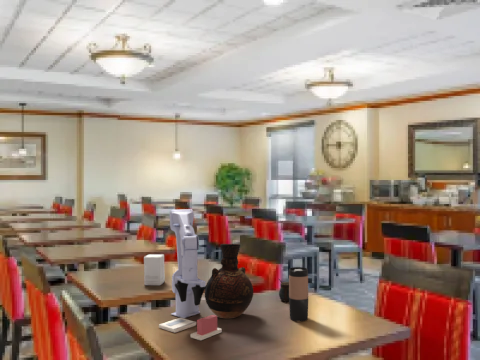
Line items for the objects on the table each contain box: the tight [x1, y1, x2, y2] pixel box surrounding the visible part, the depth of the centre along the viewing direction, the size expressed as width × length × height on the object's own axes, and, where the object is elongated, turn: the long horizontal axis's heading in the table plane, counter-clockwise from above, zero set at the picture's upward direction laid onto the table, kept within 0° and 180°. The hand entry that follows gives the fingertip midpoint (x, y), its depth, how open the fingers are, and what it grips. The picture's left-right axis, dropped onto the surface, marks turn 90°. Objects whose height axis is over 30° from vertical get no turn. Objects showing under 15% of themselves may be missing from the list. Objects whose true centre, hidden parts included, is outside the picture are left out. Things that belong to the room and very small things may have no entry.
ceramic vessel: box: [204, 243, 254, 320], centre depth 191 cm, size 21×18×30 cm
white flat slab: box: [158, 317, 197, 333], centre depth 178 cm, size 11×9×1 cm
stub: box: [190, 314, 223, 341], centre depth 169 cm, size 11×5×6 cm, turn 140°
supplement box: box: [143, 254, 166, 286], centre depth 249 cm, size 9×9×15 cm
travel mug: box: [288, 266, 309, 322], centre depth 187 cm, size 8×8×20 cm
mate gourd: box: [278, 278, 289, 303], centre depth 214 cm, size 7×8×10 cm
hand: (190, 303), depth 177 cm, fingers open, 7 cm apart
